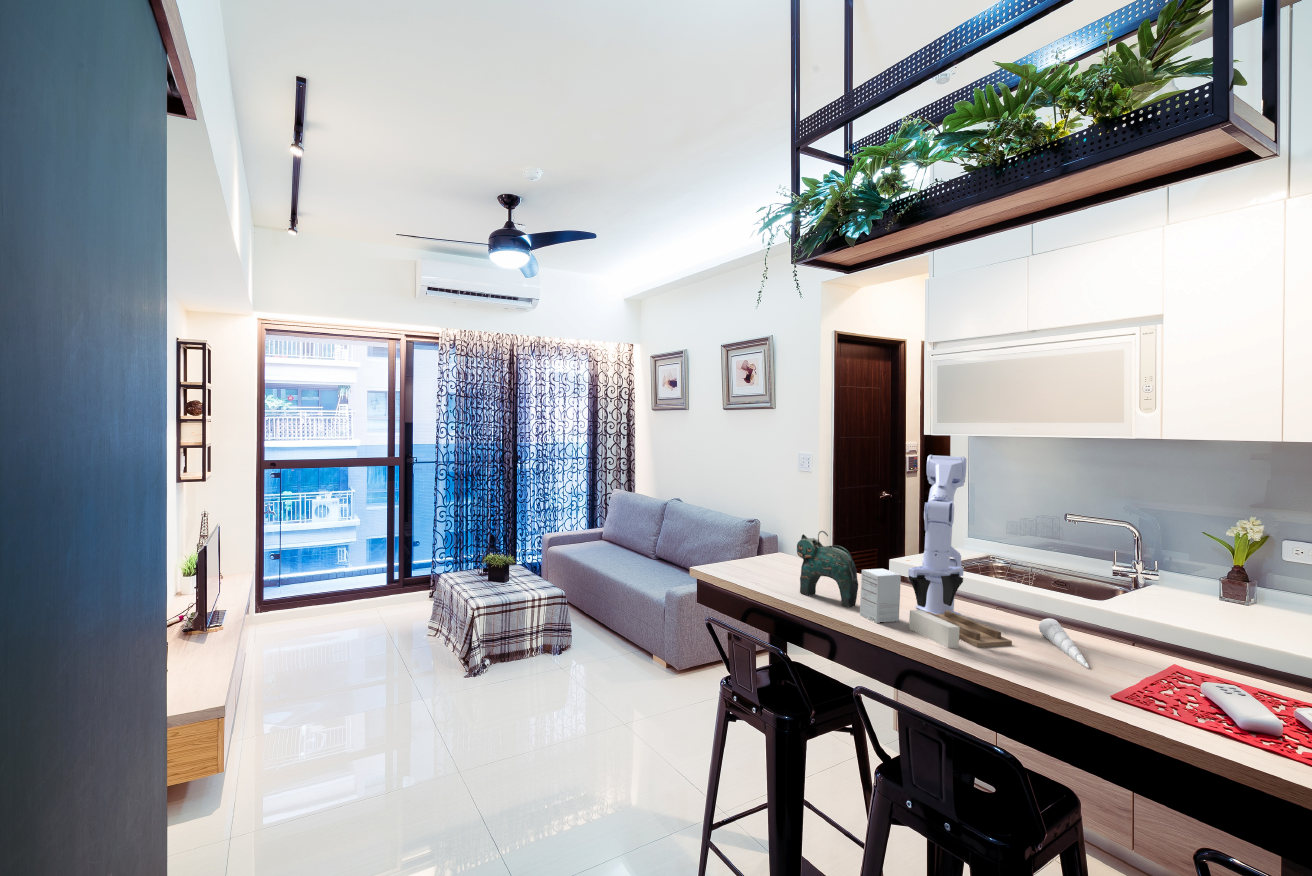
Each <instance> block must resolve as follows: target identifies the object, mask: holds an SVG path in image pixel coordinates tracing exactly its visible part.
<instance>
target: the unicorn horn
mask: <svg viewBox="0 0 1312 876" xmlns="http://www.w3.org/2000/svg"><path fill="white" fill-rule="evenodd" d="M1038 630H1039V632H1040V634H1041V635H1042V636H1043V635H1044V636H1043V637H1045V638H1046V639H1047V640H1048V639H1049V640H1048V641H1050V642H1051V644H1052V643H1053V645H1055V647H1057V648H1058V649H1059V650H1060V651H1062V652H1063V653H1064V654H1066V655H1067V656H1069V657H1070V658H1071V659H1072V660H1074V661H1076V662H1077V663H1078V664H1080V665H1081V666H1083V667H1085V668H1086V669H1090V666H1089V664H1088V662H1087V660H1086V659H1085V658H1084V656H1083V655H1082V653H1081V651H1080V650H1079V649H1078V647H1077V646H1076V644H1075V643H1074V642H1073V640H1072V639H1071V638H1070V636H1069V635H1068V634H1067V632H1066V631H1065V629H1064V628H1063V627H1062V625H1061V624H1060V623H1059V622H1058V620H1056V619H1054V618H1043V619H1042V620H1040V622H1039V624H1038Z"/></svg>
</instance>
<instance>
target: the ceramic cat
mask: <svg viewBox="0 0 1312 876" xmlns="http://www.w3.org/2000/svg"><path fill="white" fill-rule="evenodd" d="M821 533H824V534H825V536H827V537H828V536H829V535H828V533H827V532H826V531H825V530H820V531H819V532H818V534H817V538H815V537H811V538H810V537H807V536H806V535H805V534H802V535H801V538H800V540H799V541H798V542H797V544H796V553H797V556H798V557H799V558H801V559H802V562H801V563H802V564H801V570H800V578H799V583H800V584H799V586H800V587H799V594H800V593H801V595H804V596H813V594H814V595H816V592H817V591H816V587H817V583H818V581H819V580H820V578H821V577H827V578H830V579H832V580H834V581H835V583H836V584H837V586H838V588H839V589H838V590H839V594H840V599H841V606H842V605H843V606H842V607H846V608H853V606H854V607H855V606H856V604H857V599H858V598H857V597H858V590H859V580H858V572H857V567H856V564H855V562H854V560H853V557H852V555H851V554H850V552H849V550H848V549H846V548H845V547H843V546H841V545H837V544H832V545H825V546H824V545H823V544H822V543H821V541H820V538H819V537H820V534H821Z"/></svg>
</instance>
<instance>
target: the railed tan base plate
mask: <svg viewBox="0 0 1312 876" xmlns="http://www.w3.org/2000/svg"><path fill="white" fill-rule="evenodd" d="M926 613H929V614H931V615H933V616H935V617H938V618H940V619H942V620H945V621H947V622H949V623H951V624H954V625H956V626H958V627H960V630H959V640H960V639H961V641H962V640H963V642H965V643H967V644H969V645H971V646H973V647H976V648H988V647H1002V646H1003V647H1004V646H1012V645H1013V640H1011V639H1008V638H1006V637H1004V636H1002V631H999V630H996V629H995V628H992V627H990V626H987V625H985V624H982V623H979V622H977V621H975V620H973V619H970V618H968V617H965V616H962V615H961V616H960V615H958V614H956V613H953V612H951V611H945V613H944V614H934V613H931V612H926Z"/></svg>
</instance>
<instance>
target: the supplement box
mask: <svg viewBox="0 0 1312 876" xmlns="http://www.w3.org/2000/svg"><path fill="white" fill-rule="evenodd" d="M860 577H861V578H860V580H861V581H860V602H859V603H860V604H859V616H861V617H862V616H863V617H862V618H864V619H867V618H868V619H867V620H869V619H870V620H869V621H871V620H872V621H871V622H873V621H874V622H873V623H875V622H876V624H880V622H884V623H892V622H895V621H896V622H899V621H900V607H901V605H900V604H901V599H900V598H901V583H902V582H901V579H902V578H901V577H902V575H901V574H899V573H898V572H895V571H892V570H889V569H885V568H871V569H870V568H869V569H861V576H860Z"/></svg>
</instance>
